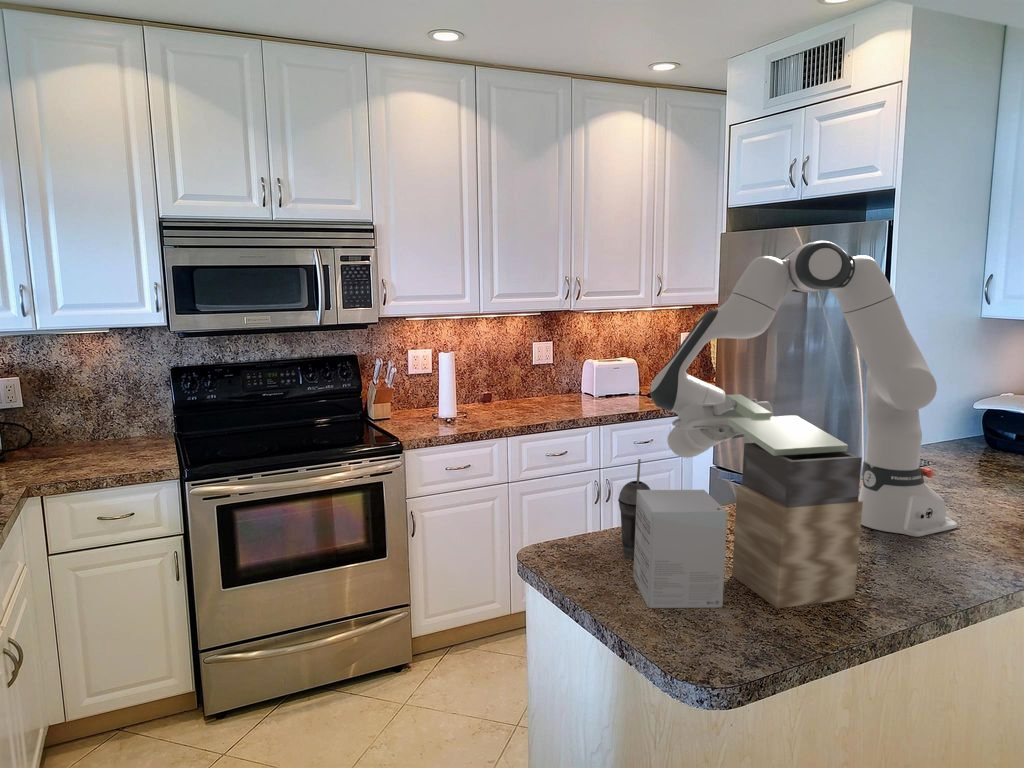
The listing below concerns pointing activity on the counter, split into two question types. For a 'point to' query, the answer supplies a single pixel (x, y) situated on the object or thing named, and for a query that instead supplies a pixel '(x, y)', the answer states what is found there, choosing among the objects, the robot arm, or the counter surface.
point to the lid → (781, 431)
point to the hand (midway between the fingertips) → (744, 402)
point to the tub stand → (798, 526)
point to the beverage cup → (630, 513)
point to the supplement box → (679, 549)
